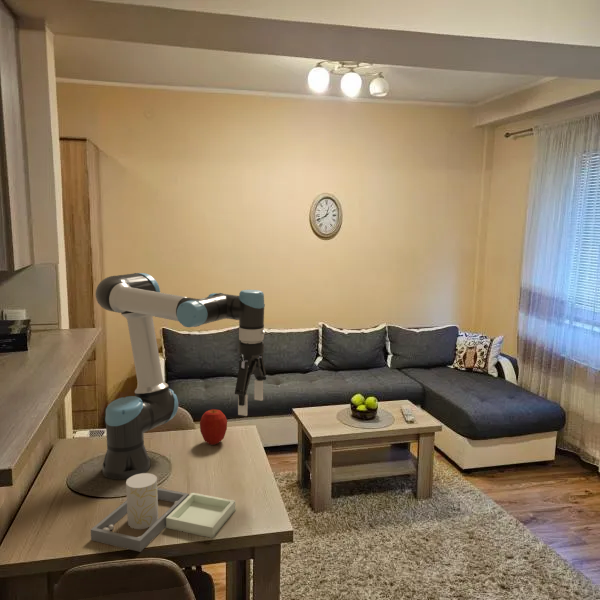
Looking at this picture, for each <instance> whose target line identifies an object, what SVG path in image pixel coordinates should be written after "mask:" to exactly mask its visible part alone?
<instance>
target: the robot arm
mask: <svg viewBox="0 0 600 600" xmlns="http://www.w3.org/2000/svg"><path fill="white" fill-rule="evenodd" d="M95 299H96V301H97V303H98V305H99V306H100V307H101V308H102V309H104V310H105V311H109V312H115V313H119V314H121V315H122V317H123V318H126V321H127V327H128V332H129V339H130V345H131V351H132V357H133V364H134V369H135V375H136V381H137V388H135V390H134V395H129V396H125V397H123V396H122V397H119V398H116V399H114V400H113V401H111V402H110V403H109V404H108V405H107V407H106V408H105V418H104V421H105V429H106V430H105V431H106V432H105V433H106V452H105V455H104V459H103V463H102V465H101V467H102V475H103V476H104V477H106V478H108V479H112V480H127V479H128V478H130V477H131V476H133V475H136V474H141V473H148V471H149V469H150V467H151V460H150V456H149V455H148V452H147V449H146V446H145V441H144V438H145V437H144V434H145V433H147V432H149V431H150V430H153V429H155V428H157V427H160V426H161V425H164V424H167V423H168V422H169V421H171V420H173V418H174V417H175V416H176V415H177V413H178V410H179V400H178V396H177V394H176V393H175V392H174V390H173V389H171V388H170V387H169V384H168V383H166V381H164V378H163V373H162V366H161V360H160V359H161V358H160V354H159V348H158V343H157V342H158V341H157V336H156V331H155V330H156V329H155V324H154V318H159V319H165V320H171V321H175V322H179V323H180V325H182V326H183V327H185V328H196V327H200V326H203V325H206V324H209V323H214V322H216V321H217V322H218V321H220V320H226V319H227V320H234V321H238V325H239V326H238V340H239V343H238V352H239V354H240V355H242V356H243V360H239V364H238V373H237V378H236V382H235V384H236V385H235V390H234V395H237V415H238V416H245V417H247V416H248V401H249V400H248V398H249V397H248V396H249V395H248V394H247V391H248V389H249V384H250V380H251V377H252V375H254V377H255V380H254V388H253V389H254V390H253V391H254V398H253V400H254V401H261V402H263V401H264V381H266V380H267V377H266V376H267V372H266V368H265V362H264V358H263V355H264V351H265V342H264V341H263V340H265V334H266V330H264V329H265V305H266V304H265V294H264V291H262V290H259V289H243V290H240V291H239V295H235V294H226V293H223V292H219V293H218V292H216V293H215V292H214V293H213V292H212V293H210V294H208V296H207V297H202V298H195V297H194V298H193V297H187V296H183V295H178V294H177V295H176V294H171V293H164V292H161V287H160V286H159V283H158V281H157V280H156V278H154V277H153V276H152V275H151V274H149V273H145V272H133V273H127V274H120V275H119V274H118V275H111V276H107V277H105V278H104V279H102V280H101V281H100V282H99V283H98V284H97V287H96V289H95ZM153 317H154V318H153Z"/></svg>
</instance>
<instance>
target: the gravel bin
mask: <svg viewBox="0 0 600 600" xmlns="http://www.w3.org/2000/svg"><path fill="white" fill-rule="evenodd" d="M157 494H158V500H161V501H166V502H171V503H173V505H171V507H170V508H169V509H167V511H165V513H164V514H162V515H161V516H160V517H158V520H157V521H156V522H155V523H154V524H153V525H152V526H151V527H149V528H147V530H146V531H145V532H143V534H142V535H139V536H137V537H136V536H133V535H127V534H124V533H118V532H114V531H112V530H114V528H115V527H114V525H115V524H116V523H117V522H118V521H120V520H121V519H122V518H123V517H125V515H127V499H126V500H125V501H123V502H122V503H121V504H120V505H119V506H118V507H117V508H115V509H113V511H112V512H110V513H109V514H107V516H105V517H104V518H103V519H102V520H100V522H98V523H97V524H95V525H94V526H93V527H92V528H90V540H91V541H92V542H93V541H94V542H97V543H102V544H106V545H108V546H109V545H110V546H113V547H118V548H122V547H124V549H126V548H128V549H127V550H130V551H135V552H140V553H141V552H142V551H144V549H145V548H146V547H147V546H148V545H149V544H150V543H151V542H152V541H153V540H154V539H155V538H156V537H157V536H158V535H159V534H160V533H162V531H163V530H164V529H165V528H166V517H167V516H168V515H169V514H170V513H171V512H172V511H174V510H175V509H176V508H177V507H178V506H179V505H180V504H181V503H182V502H183V501H184V500H185V499H186V498H187V497H188V496H189V495H190V493H187V492H182V491H177V490H173V489H172V490H171V489H167V488H162V487H157ZM154 537H155V538H154ZM152 539H153V540H152ZM151 540H152V541H151ZM150 541H151V542H150Z"/></svg>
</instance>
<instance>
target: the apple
mask: <svg viewBox="0 0 600 600" xmlns="http://www.w3.org/2000/svg"><path fill="white" fill-rule="evenodd" d="M199 428H200V429H199V431H200V434H201V435H202V438H203V441H204V442H205V443H207V444H208V445H211V446H214V445H217V444H219V443H220V442H221V441H222V440H223V439H225V435H226V433H227V429H228V419H227V417H226V415H225V414H224V413H223V412H222V410H220V409H214V408H211V409H209V410H206V411H205V412H204V413H203V414H202V416H201V418H200V421H199Z"/></svg>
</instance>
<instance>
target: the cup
mask: <svg viewBox="0 0 600 600" xmlns="http://www.w3.org/2000/svg"><path fill="white" fill-rule="evenodd" d="M125 486H126V487H125V488H126V489H125V491H126V500H127V514H126V515H127V526H128V527H129V526H130V527H129V528H131V529H133V528H134V529H133V530H145V529H149V528H150V527H151V526H152V525H153V524H154V523H155V522H156V521H157V520H158V519H159V501H158V500H159V499H158V494H157V488H158V477H157V475H155V474H153V473H149V472H145V473H141V474H136V475H133V476H131V477H130V478H128V479H126V482H125ZM148 527H149V528H148Z"/></svg>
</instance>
